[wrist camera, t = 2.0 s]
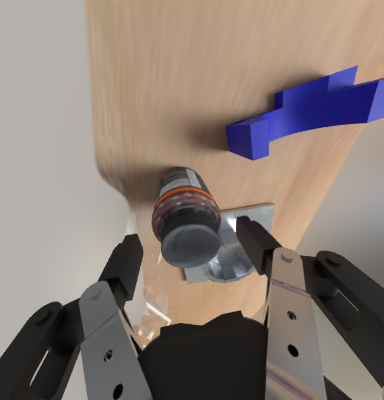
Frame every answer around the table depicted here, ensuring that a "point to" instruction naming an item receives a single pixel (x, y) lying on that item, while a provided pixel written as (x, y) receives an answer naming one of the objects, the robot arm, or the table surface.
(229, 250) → the duct panel
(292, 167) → the table surface
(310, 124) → the blue notched bracket
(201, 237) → the supplement bottle
